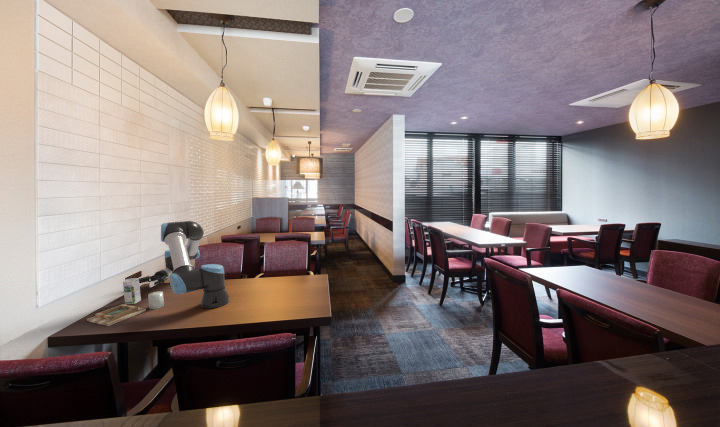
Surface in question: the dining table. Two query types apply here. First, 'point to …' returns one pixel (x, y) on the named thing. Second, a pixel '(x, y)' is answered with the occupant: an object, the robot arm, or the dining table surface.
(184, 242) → the robot arm
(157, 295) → the white rounded cylinder
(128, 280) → the syrup box
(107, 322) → the wooden square frame
